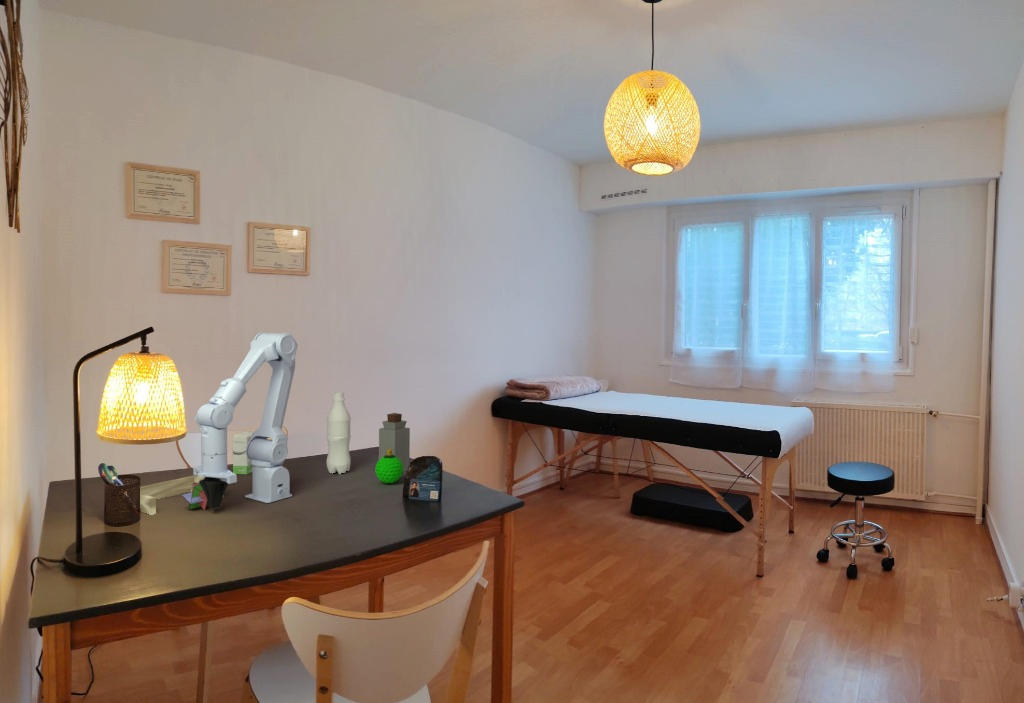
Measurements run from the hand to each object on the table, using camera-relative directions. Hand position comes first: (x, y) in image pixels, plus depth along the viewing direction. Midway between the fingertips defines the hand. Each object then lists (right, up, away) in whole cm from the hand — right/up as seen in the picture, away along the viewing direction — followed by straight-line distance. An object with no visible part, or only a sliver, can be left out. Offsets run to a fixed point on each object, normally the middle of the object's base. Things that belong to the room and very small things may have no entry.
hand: (214, 507), depth 154 cm
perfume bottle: (+36, 0, +45) cm, 57 cm away
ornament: (+37, -1, +30) cm, 48 cm away
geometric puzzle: (-5, -1, +3) cm, 7 cm away
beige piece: (-14, -1, +9) cm, 16 cm away
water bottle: (+19, 0, +41) cm, 45 cm away
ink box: (-9, +1, +41) cm, 42 cm away
